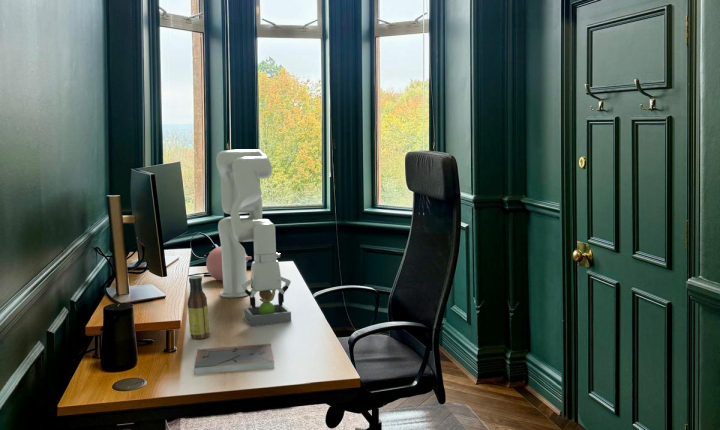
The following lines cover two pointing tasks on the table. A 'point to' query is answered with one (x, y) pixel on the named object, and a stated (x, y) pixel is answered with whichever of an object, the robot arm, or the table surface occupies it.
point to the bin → (267, 316)
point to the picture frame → (234, 358)
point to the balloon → (217, 263)
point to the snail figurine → (266, 302)
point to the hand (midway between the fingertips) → (267, 306)
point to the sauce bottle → (198, 309)
